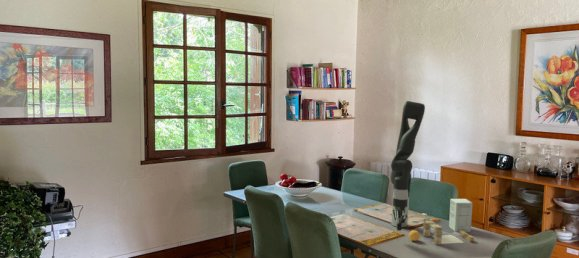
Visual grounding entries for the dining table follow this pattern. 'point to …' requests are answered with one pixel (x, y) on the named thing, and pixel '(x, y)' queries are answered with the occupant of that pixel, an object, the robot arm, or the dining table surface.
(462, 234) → the stopper wall
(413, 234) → the ball
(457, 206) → the supplement box
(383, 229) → the dining table surface
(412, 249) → the dining table surface
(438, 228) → the bridge
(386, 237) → the dining table surface
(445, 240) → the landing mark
